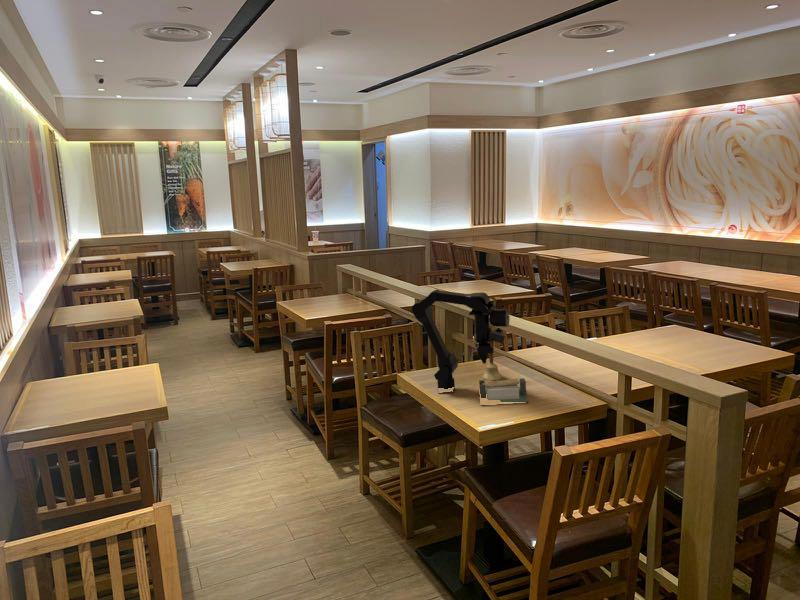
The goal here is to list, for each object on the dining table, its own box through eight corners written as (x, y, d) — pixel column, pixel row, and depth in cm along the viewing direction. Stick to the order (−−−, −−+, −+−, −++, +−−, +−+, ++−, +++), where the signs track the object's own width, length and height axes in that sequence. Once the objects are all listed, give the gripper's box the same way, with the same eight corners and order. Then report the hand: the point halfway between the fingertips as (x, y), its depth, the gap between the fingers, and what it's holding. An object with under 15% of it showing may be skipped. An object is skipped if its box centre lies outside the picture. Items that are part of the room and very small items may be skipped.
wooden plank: (482, 387, 231) (482, 385, 231) (482, 384, 234) (481, 382, 234) (519, 383, 230) (518, 381, 229) (518, 380, 232) (517, 378, 232)
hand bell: (491, 382, 248) (489, 346, 244) (478, 377, 255) (476, 342, 251) (506, 377, 252) (504, 341, 248) (493, 372, 259) (491, 337, 255)
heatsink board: (480, 406, 227) (479, 390, 225) (478, 391, 240) (477, 376, 239) (528, 403, 225) (527, 387, 224) (523, 388, 239) (522, 373, 237)
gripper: (505, 331, 221) (507, 370, 224) (500, 317, 239) (502, 353, 242) (475, 333, 221) (478, 372, 225) (472, 319, 240) (475, 355, 243)
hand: (484, 363), depth 234 cm, fingers closed
